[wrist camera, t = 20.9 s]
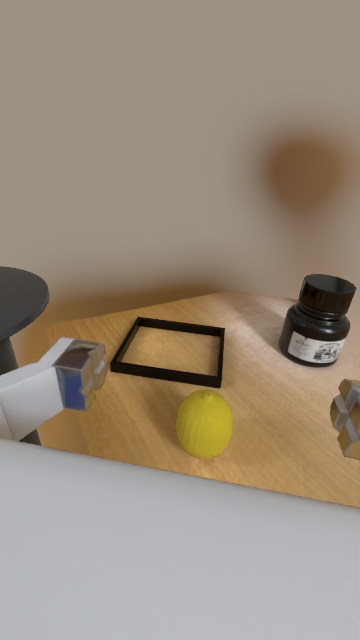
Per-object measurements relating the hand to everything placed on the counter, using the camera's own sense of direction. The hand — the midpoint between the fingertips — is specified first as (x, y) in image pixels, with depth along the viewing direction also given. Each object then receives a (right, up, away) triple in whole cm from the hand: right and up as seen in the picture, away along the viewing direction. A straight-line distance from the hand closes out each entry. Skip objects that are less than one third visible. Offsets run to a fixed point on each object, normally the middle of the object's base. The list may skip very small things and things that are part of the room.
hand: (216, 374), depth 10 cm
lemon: (+1, -12, +20) cm, 24 cm away
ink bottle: (+19, -3, +37) cm, 42 cm away
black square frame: (-2, -3, +35) cm, 35 cm away
